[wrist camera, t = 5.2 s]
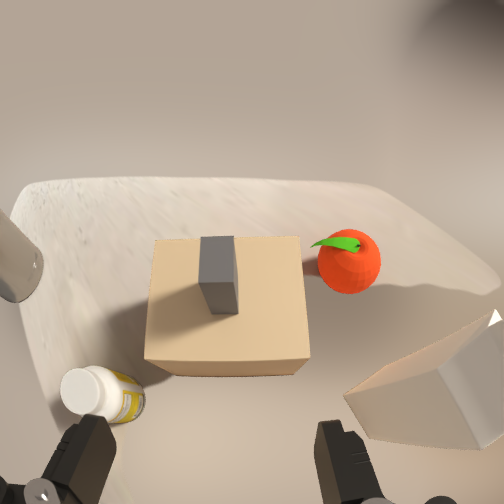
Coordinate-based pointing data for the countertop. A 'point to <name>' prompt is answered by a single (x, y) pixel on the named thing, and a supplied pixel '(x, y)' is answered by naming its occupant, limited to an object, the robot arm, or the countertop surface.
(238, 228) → the countertop surface
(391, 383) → the milk
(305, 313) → the lid
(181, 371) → the carton
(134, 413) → the supplement bottle
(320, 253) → the clementine
